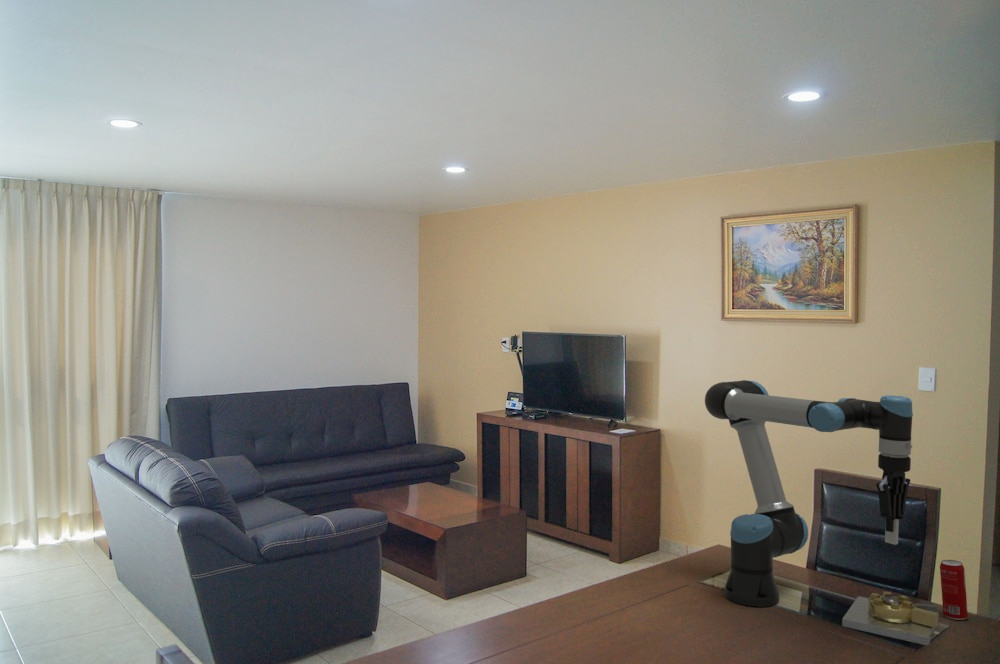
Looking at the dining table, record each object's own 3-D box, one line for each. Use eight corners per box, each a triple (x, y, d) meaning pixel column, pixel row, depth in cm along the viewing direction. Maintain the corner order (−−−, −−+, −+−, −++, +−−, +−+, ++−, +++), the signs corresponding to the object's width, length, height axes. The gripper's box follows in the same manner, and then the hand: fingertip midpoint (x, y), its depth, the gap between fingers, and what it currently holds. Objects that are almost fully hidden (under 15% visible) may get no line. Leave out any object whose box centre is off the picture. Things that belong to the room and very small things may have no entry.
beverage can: (971, 621, 197) (971, 566, 197) (944, 619, 198) (945, 564, 198) (962, 613, 203) (962, 559, 203) (936, 611, 204) (936, 558, 204)
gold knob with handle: (861, 614, 197) (861, 598, 197) (876, 603, 204) (876, 587, 204) (930, 632, 185) (930, 615, 185) (943, 620, 192) (943, 603, 192)
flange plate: (842, 626, 195) (842, 605, 195) (858, 603, 211) (858, 584, 211) (930, 646, 182) (930, 624, 182) (940, 620, 198) (940, 600, 198)
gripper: (896, 460, 186) (892, 551, 187) (921, 454, 193) (918, 542, 194) (867, 454, 192) (864, 543, 193) (893, 449, 200) (890, 534, 201)
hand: (891, 542), depth 194 cm, fingers closed
